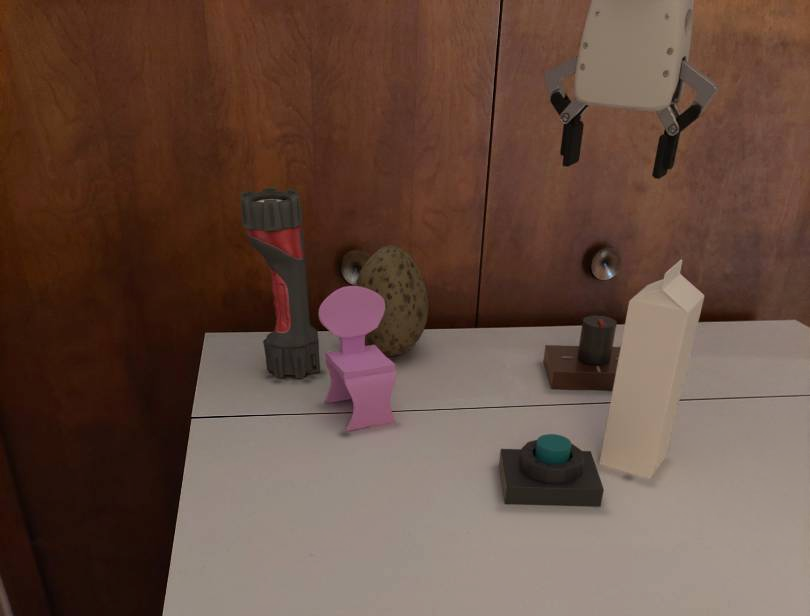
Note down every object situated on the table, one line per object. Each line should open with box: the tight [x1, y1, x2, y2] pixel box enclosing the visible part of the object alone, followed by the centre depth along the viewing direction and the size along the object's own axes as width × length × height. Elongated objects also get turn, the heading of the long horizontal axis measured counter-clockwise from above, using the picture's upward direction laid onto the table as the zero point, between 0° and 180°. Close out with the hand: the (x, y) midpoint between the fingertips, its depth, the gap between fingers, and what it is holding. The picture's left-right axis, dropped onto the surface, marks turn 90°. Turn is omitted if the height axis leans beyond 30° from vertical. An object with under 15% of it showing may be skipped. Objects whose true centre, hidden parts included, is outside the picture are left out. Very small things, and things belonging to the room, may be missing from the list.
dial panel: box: [542, 344, 621, 391], centre depth 109 cm, size 12×9×3 cm
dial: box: [577, 315, 618, 365], centre depth 107 cm, size 4×4×6 cm
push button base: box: [498, 439, 605, 508], centre depth 85 cm, size 10×8×4 cm
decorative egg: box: [354, 245, 429, 357], centre depth 111 cm, size 11×11×15 cm
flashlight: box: [240, 186, 321, 379], centre depth 103 cm, size 8×8×23 cm
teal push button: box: [535, 433, 572, 464], centre depth 84 cm, size 4×4×2 cm
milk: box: [599, 258, 705, 480], centre depth 85 cm, size 6×6×22 cm
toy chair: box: [317, 285, 397, 432], centre depth 95 cm, size 8×9×15 cm
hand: (613, 170), depth 84 cm, fingers open, 9 cm apart
